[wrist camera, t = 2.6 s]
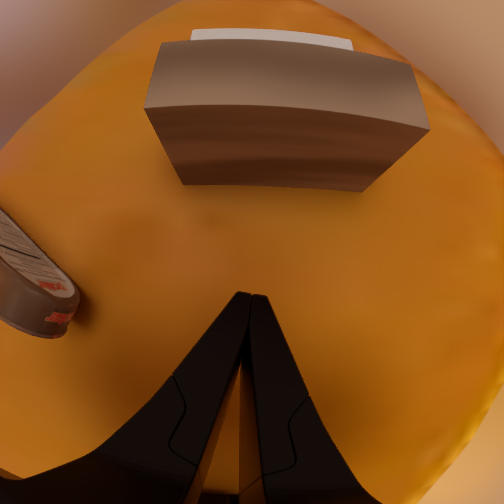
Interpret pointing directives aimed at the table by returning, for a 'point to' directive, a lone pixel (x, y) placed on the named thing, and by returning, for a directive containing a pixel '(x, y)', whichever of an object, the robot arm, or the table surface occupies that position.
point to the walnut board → (282, 113)
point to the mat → (271, 36)
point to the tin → (32, 285)
